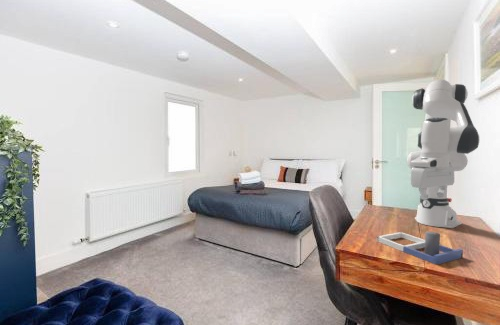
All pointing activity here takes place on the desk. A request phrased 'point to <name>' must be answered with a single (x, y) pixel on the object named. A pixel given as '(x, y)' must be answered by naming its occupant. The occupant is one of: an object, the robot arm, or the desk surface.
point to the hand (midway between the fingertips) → (432, 198)
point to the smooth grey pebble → (432, 243)
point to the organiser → (420, 243)
